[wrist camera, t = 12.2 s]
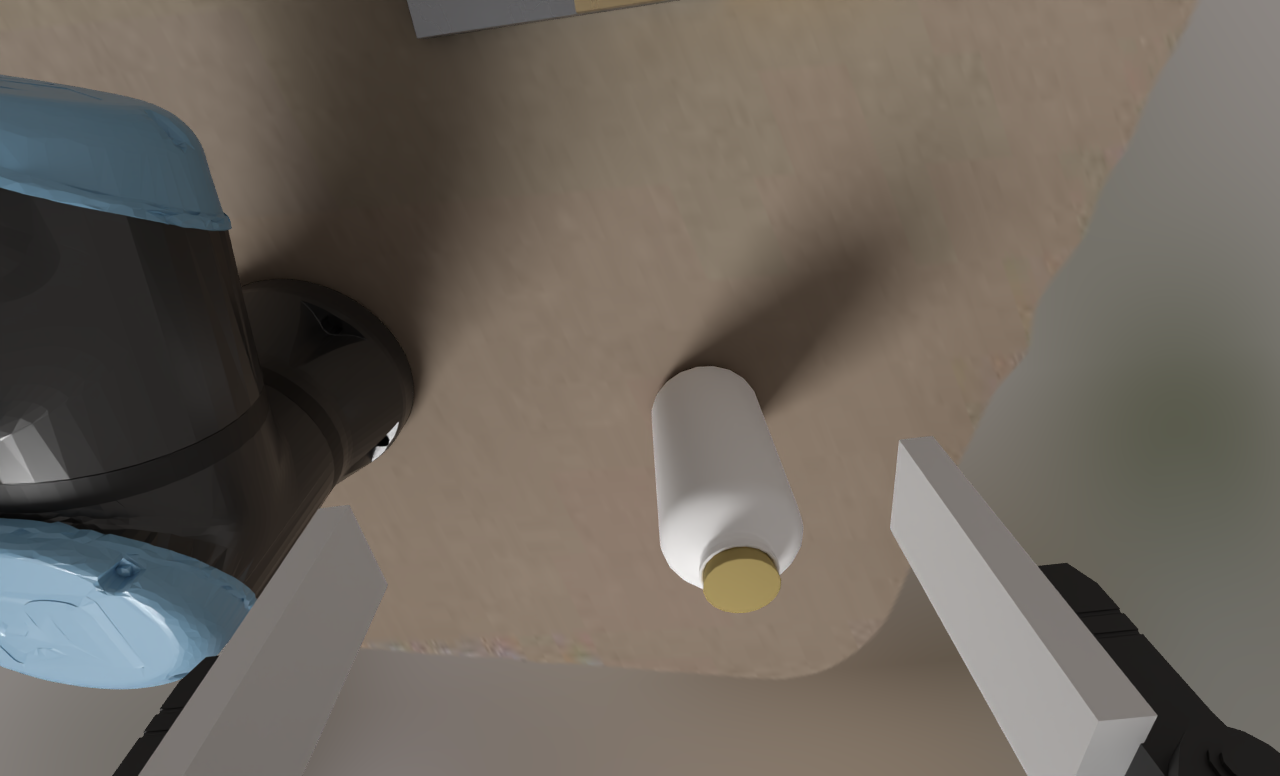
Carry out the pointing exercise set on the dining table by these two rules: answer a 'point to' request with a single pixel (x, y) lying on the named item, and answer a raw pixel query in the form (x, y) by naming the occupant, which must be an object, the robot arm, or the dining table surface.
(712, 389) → the potion bottle
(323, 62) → the dining table surface
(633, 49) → the dining table surface
